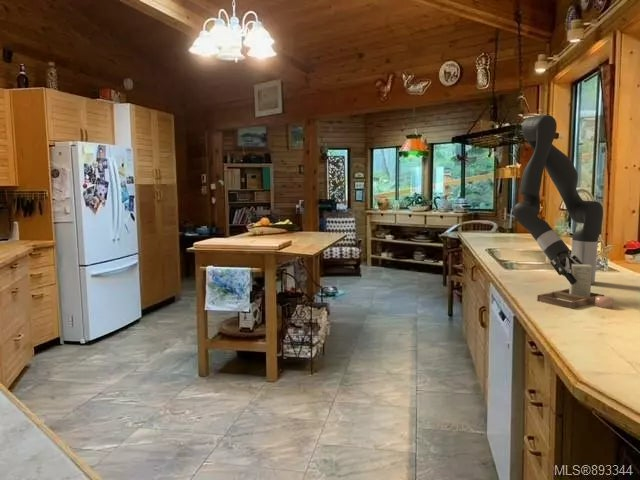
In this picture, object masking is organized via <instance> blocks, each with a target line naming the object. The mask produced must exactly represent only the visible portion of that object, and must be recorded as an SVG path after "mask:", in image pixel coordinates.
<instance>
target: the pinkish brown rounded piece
mask: <svg viewBox="0 0 640 480" xmlns="http://www.w3.org/2000/svg"><path fill="white" fill-rule="evenodd" d="M613 301H614V298H612V297H609V296H605V295H604V296H596V298H595V303H594V306H595V307H597V308H601V309H612V308H613Z"/></svg>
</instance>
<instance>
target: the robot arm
mask: <svg viewBox="0 0 640 480" xmlns="http://www.w3.org/2000/svg"><path fill="white" fill-rule="evenodd" d="M557 125H558V124H557V121H556V119H555V117H554V116H552V115H549V114H545V115H543V114H542V115H535V116H529V117H526V118H525V119H524V120H523V121H522V124H521V134H522V136H523V137H524V139H525V140H526V142H527V143H528V144H529V146H530V147H531V148H532V150H533V151H534V152H533V154H532V155H531V157H530V159H529V161H528V162H527V164H526V166H525V168H523V172H522V174H521V175H522V176H521V180H520V181H521V182H520V186H519V193H520V195H521V196H522V202H518V203H516V204H514V206H513V208H512V214H513V217H514V218H515V220H516V221H517V222H518V223H519V225H521V226H522V227H523V228H524V229H525V230H527V231H528V232H529V233H530V235H531V236H532V237H533V239H534V240H535V241H536V243H537V245H538V247H539V248H540V249H541V251H543V253H544V254H545V256H546V257H547V258H548V259H549V261H550V262H549V263H550V265H551V266H552V267H553V268H554V270H555V271H556V273H557V274H558V275H559V276H562V277H564V278H565V279H567V281H568V283H569V285H570V284H571V285H573V284H575V283H576V282H577V280H576V279H575V277H574V276H573V275H572V274H571V264H590V265H591V266H592V276H591V285H593V284H595V283H596V282H595V280H596V272H597V258H598V257H597V256H598V254H597V253H598V245H599V237H600V235H601V232H602V231H601V230H602V225H603V219H604V207H603V205H602V203H600V202H599V201H595V200H584V199H583V198H582V197H581V196H580V194H579V191H578V190H577V185H578V180H579V174H578V171H577V169H576V167H575V165H574V163H573V162H572V160H571V158H569V156H568V155H566V154H565V153H564V152H563V151H561V150H560V149H558V148H557V147H556V146H555V145H554V144H553V142H554V140H555V136H556V133H557ZM544 169H545V170H546V172H547V174H548V176H549V178H550V180H551V182H552V183H553V184H554V187H556V189H557V191H558V193H559V195H560V197H561V199H562V201H563V203H564V206H565V208H566V210H567V211H566V212H568V215H569V217H570V219H572V221H573V222H575V223H579V224H582V225H583V226H582V228H581V230H579V231H575V232H573V233H572V237H571V238H572V239H571V250H570V248H569V247H568V245H567V244H566V243H565V242H564V240H563V239H562V237H560V235H559V234H557V232H555V230H554V229H553V228H552V227H551V225H550V224H549V223H548V221H546V220H544V219H542V218H541V217H539V215H540V212H541V198H540V191H541V186H542V181H543V173H544ZM570 251H571V253H570V254H569V252H570Z"/></svg>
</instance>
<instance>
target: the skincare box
mask: <svg viewBox="0 0 640 480" xmlns="http://www.w3.org/2000/svg"><path fill="white" fill-rule="evenodd" d="M571 274H572V275H573V276H574V277H575V279H576V280H577V282H576V283H575V284H573V285H571V284H570V283H569V288H570V289H569V288H568V289H569V294H573V295H578V296H583V297H588V298H589V297H590V292H591V286H592V284H591V276H592V266H591V265H590V264H571Z"/></svg>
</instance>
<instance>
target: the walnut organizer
mask: <svg viewBox="0 0 640 480" xmlns="http://www.w3.org/2000/svg"><path fill="white" fill-rule="evenodd" d="M569 289H570V287H569V288H565V289H561V290H555V291H551V292H546V293H541V294H538V295H537V297H536V300H537V302H540V301H541V302H540V303H544V302H545V304H549V305H554V306H558V307H562V308H567V309H572V310H573V309H575V308H581V307H584V306H588V305H591V304H595V298H596V296H605V295H604V294H600V293H597V292H596V293H595V292H591V291H590V297H589V298H588V297H583V296H578V295H573V294H569Z"/></svg>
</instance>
